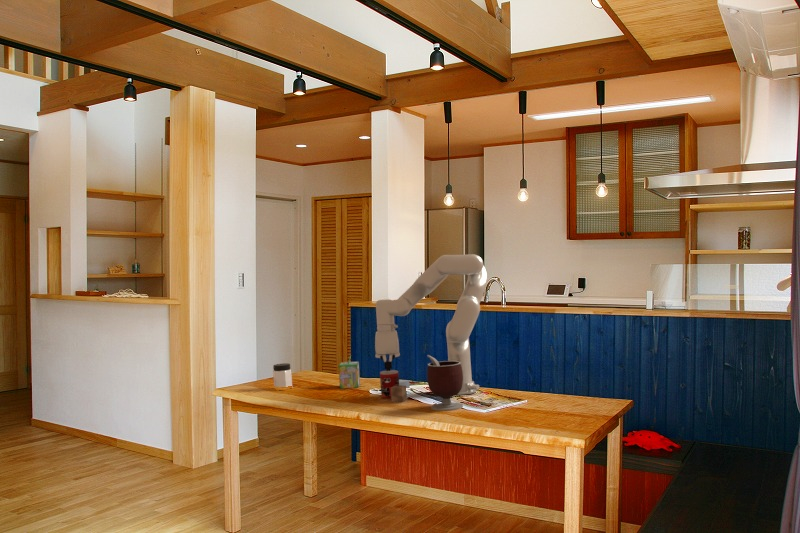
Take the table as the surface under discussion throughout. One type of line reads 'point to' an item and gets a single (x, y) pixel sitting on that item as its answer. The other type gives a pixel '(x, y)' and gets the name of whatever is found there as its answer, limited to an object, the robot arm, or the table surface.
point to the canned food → (388, 382)
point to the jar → (282, 375)
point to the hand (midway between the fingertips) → (388, 370)
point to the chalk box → (349, 374)
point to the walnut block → (398, 393)
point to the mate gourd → (445, 382)
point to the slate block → (404, 383)
